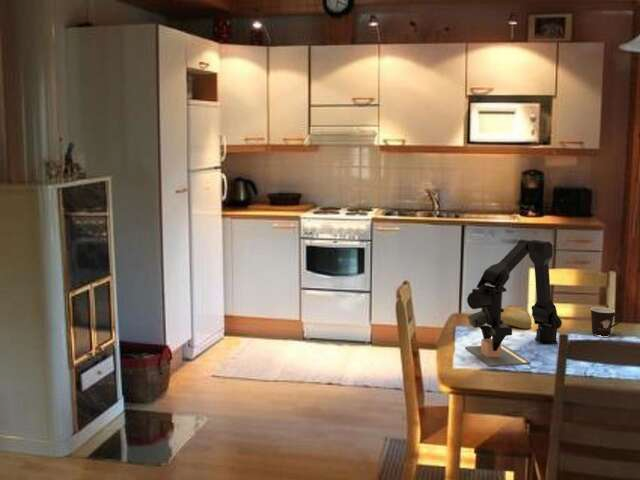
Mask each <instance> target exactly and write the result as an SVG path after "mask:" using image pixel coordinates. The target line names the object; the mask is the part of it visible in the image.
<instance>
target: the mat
mask: <svg viewBox="0 0 640 480" xmlns="http://www.w3.org/2000/svg"><path fill="white" fill-rule="evenodd" d="M464 349H465V350H466V351H468V352H469V351H470V352H469V353H471V354H472V355H474V356H475V357H476V358H478V359H479V360H481V361H482V362H483V363H484V364H486V365H487V366H488V367H490V368H492V367H504V366H505V367H507V366H517V365H518V366H519V365H520V366H521V365H531V361H529V360H528V359H526V358H525V357H523V356H521V355H520V354H519V353H517V352H515V351H514V350H512V349H511V348H509V347H508V346H506V345H504V344H503V343H501V353H500V357H486V356H485V355H483V354H482V353H481V345H472V346H464Z"/></svg>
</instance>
